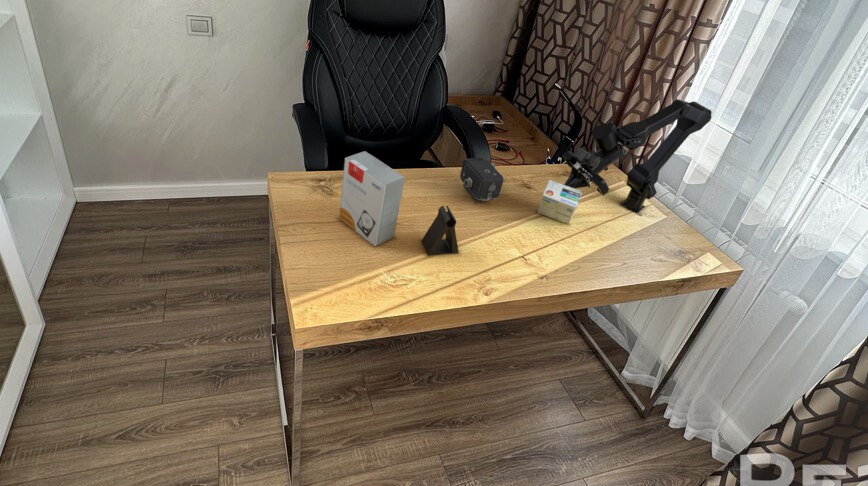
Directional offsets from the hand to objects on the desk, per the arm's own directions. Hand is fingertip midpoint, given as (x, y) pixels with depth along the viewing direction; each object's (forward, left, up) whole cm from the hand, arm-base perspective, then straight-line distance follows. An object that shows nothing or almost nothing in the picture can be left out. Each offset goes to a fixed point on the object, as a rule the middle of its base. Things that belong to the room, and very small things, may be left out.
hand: (562, 189), depth 159 cm
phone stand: (+44, -11, -10) cm, 47 cm away
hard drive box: (+55, -29, -10) cm, 63 cm away
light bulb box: (0, 0, -8) cm, 8 cm away
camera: (+13, -22, -10) cm, 27 cm away
